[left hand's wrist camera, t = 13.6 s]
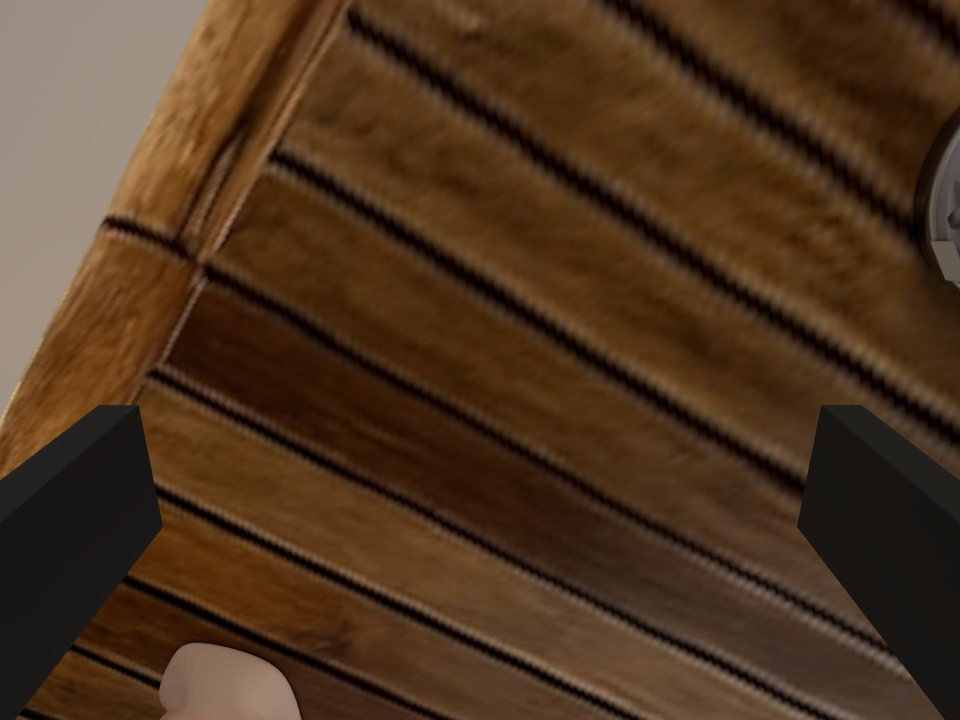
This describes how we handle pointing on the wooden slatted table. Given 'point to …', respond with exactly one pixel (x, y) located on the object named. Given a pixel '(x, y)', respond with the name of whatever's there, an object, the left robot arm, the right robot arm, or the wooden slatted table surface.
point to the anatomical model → (224, 686)
